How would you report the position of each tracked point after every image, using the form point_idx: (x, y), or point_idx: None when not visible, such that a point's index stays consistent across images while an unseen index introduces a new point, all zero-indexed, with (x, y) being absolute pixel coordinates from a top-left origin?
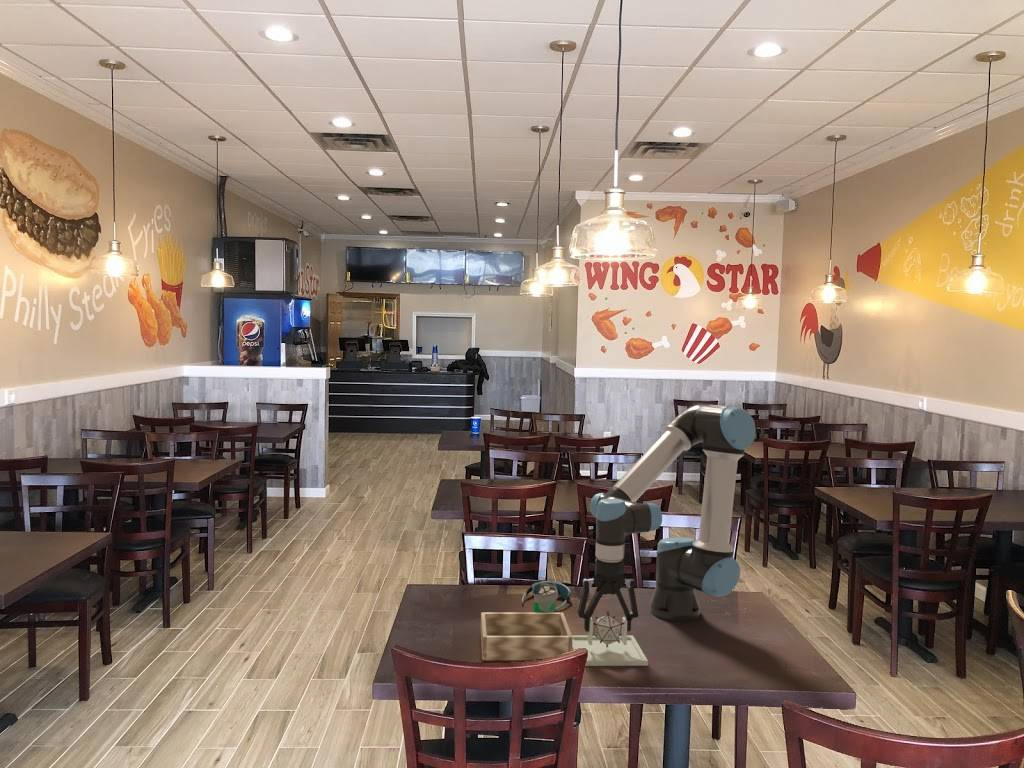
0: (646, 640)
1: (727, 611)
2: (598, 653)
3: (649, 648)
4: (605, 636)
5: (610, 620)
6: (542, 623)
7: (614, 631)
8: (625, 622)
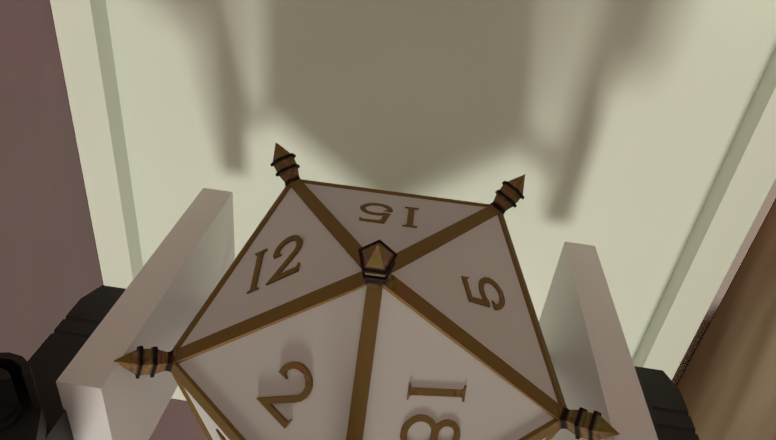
0: (42, 341)
1: None
2: (503, 168)
3: (23, 220)
4: (452, 222)
5: (332, 423)
6: None
7: (316, 247)
8: (99, 363)
